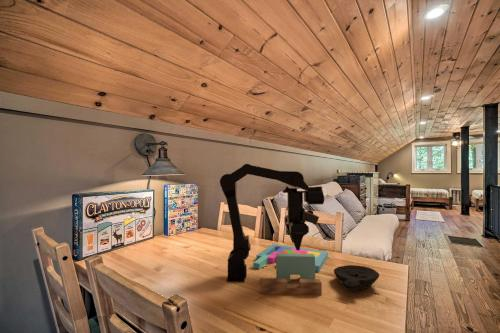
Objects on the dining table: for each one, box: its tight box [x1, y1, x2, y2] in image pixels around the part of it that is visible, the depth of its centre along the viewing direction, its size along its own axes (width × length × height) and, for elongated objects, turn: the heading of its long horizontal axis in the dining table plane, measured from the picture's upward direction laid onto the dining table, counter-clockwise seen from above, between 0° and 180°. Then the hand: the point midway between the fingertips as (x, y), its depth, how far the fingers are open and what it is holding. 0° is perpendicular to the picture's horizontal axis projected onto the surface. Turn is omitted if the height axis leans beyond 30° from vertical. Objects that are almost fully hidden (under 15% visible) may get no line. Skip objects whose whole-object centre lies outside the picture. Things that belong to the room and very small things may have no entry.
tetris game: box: [252, 243, 329, 273], centre depth 108 cm, size 28×3×28 cm
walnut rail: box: [259, 277, 323, 296], centre depth 80 cm, size 20×2×4 cm, turn 87°
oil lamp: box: [333, 264, 380, 292], centre depth 84 cm, size 15×20×5 cm
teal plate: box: [275, 253, 316, 282], centre depth 90 cm, size 14×3×9 cm, turn 87°
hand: (295, 246), depth 91 cm, fingers open, 9 cm apart
